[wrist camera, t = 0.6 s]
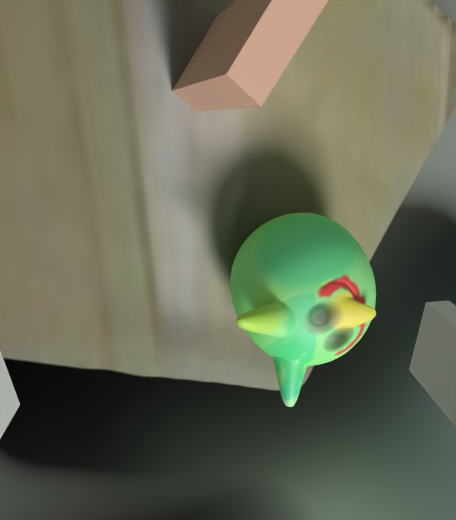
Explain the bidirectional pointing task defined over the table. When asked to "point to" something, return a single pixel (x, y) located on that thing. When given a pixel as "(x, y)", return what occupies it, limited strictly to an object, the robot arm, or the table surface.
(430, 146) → the table surface
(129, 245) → the table surface
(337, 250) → the toy bird
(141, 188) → the table surface
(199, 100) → the tall pink slab box
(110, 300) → the table surface
